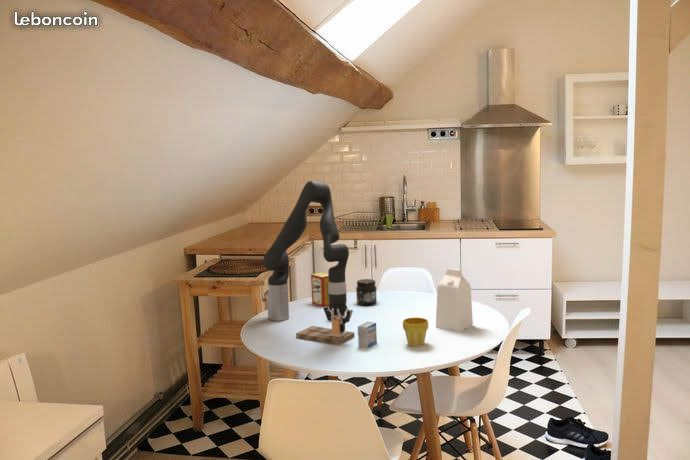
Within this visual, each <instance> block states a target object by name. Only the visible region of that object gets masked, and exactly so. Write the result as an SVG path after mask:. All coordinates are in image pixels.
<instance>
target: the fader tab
mask: <svg viewBox="0 0 690 460" xmlns="http://www.w3.org/2000/svg"><path fill="white" fill-rule="evenodd" d="M331 329H332V333H331V334H330V336H334V337H342V336H344V335H346V334H348V332H349V331H348V332H346V331H347V330H345V331H344V332H343V333H341V332H340V319H339V317H338V318H336V319H333V320H332V322H331Z"/></svg>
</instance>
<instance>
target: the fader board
mask: <svg viewBox="0 0 690 460" xmlns="http://www.w3.org/2000/svg"><path fill="white" fill-rule="evenodd" d="M345 331H346V332H348V334H346V335H344V336H342V337H334V336H330V334H331V333H332V328H328V327H323V326H316V325H312V326H311V325H310V326H309V327H307V328H305V329H302V330H300V331H298V332H296V333H295V334H296V335H295V337H296V339H301V340H306V341H307V340H308V341H313V342H318V343H324V344H329V345H330V344H331V345H336V346H341V345H343V344H344V343H346V342H348V341H350V340H351V339H353V338H355V332H353V331H347V330H345Z"/></svg>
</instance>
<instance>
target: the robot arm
mask: <svg viewBox="0 0 690 460" xmlns="http://www.w3.org/2000/svg"><path fill="white" fill-rule="evenodd" d="M332 199H333V198H332V192H331V188H330V186H329V184H328V183H325V182H322V181H316V180H308V181H307V182H306V183H305V184H304V186H303V188H302V190H301V192H300V195H299V197H298V199H297V201H296V203H295V205H294V207H293V209H292V211H291V212H290V214H289V216H288V218H287V219H286V221H285V223H284V224H283V226H282V228H281V230H280V232H279V233H278V235H277V237H276V238H275V239H274V241H273V243H272V244H271V246H270V247H269V248H268V250H267V251H266V252H265V254H264V256H263V260H262V261H263V262H262V263H263V267H264V268H265V270H267V271H273V272H272V274H271V275H270V276H269V277H268V278H267V287H268V289H267V290H268V298H267V300H266V301H267V304H266V305H267V318H268V320H270V321H273V322H275V321H276V322H281V321H287V320H289V318H290V311H289V310H290V308H289V307H290V306H289V287H288V286H289V285H288V279H289V276H290V259H289V255H288V253H287V250H288V249H290V247H291V246H293V245H294V244H295V243H297V242H298V240H299V239H300V238H301V236H302V235H303V233H304V232H305V230H306V228H307V225H308V220H307V209H308V208H309V206H310V204H311V203H316V204H320V205H321V206H320V207H321V208H322V214H321V216H320V220H319V229H320V233H321V236H322V241H323V251H322V252H323V254H322V255H323V258H324V260H325V261H326V262H328V263H334V262H337V264H336V265H334V266H331V267H330V268H329V269H328V271H327V272H328V273H327V274H328V275H329V284H328V294H329V306H326V307H323V312H324V314H325V317H326V319H327V321H328V322H331V323H332V320H333V319H336V318H337V316H338V317H339V319H340V332H341V333H343V332H344V331H346V324H347V323H349V322H350V321H351V318H352V315H353V313H354V312H353V311H354V310H353V309H349V308H348V306H347V303H348V302H347V301H348V300H347V283H346V268H347V265H348V260H349V255H350V252H349V250H350V249H349V248H348V245H346V244H344V243H338V244H334V243H337V242H338V241H339V240H340V233H339V229H338V227H337V223H336V219H335V215H334V206H333V200H332ZM331 312H332V313H331Z"/></svg>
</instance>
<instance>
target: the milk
mask: <svg viewBox="0 0 690 460" xmlns="http://www.w3.org/2000/svg"><path fill="white" fill-rule="evenodd" d="M436 293H437V294H436V309H435V310H436V311H435V312H436V314H435V315H436V316H435V328H437V327H440V328H439V329H442V328H445V329H444V330H446V329H449V330H448V331H451V330H454V331H453V332H456V331H460V332H462V331H461V330H463V329H465V328H467V327H469V328H471V327H470V326H472V325H473V326H474V322H473V321H474V320H473V305H472V304H473V303H472V287H471V284H470V282H469V281H468V280H467V279H466V278H465V277H464V276H463V273H462V269H456V268H452V267H451V268H450V267H449V268H447V269H446V272H445V274H444V276H443V277H442V279H441V280H440V282H439V284H437V291H436ZM473 326H472V327H473ZM467 329H468V328H467ZM465 330H466V329H465ZM463 331H464V330H463Z"/></svg>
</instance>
